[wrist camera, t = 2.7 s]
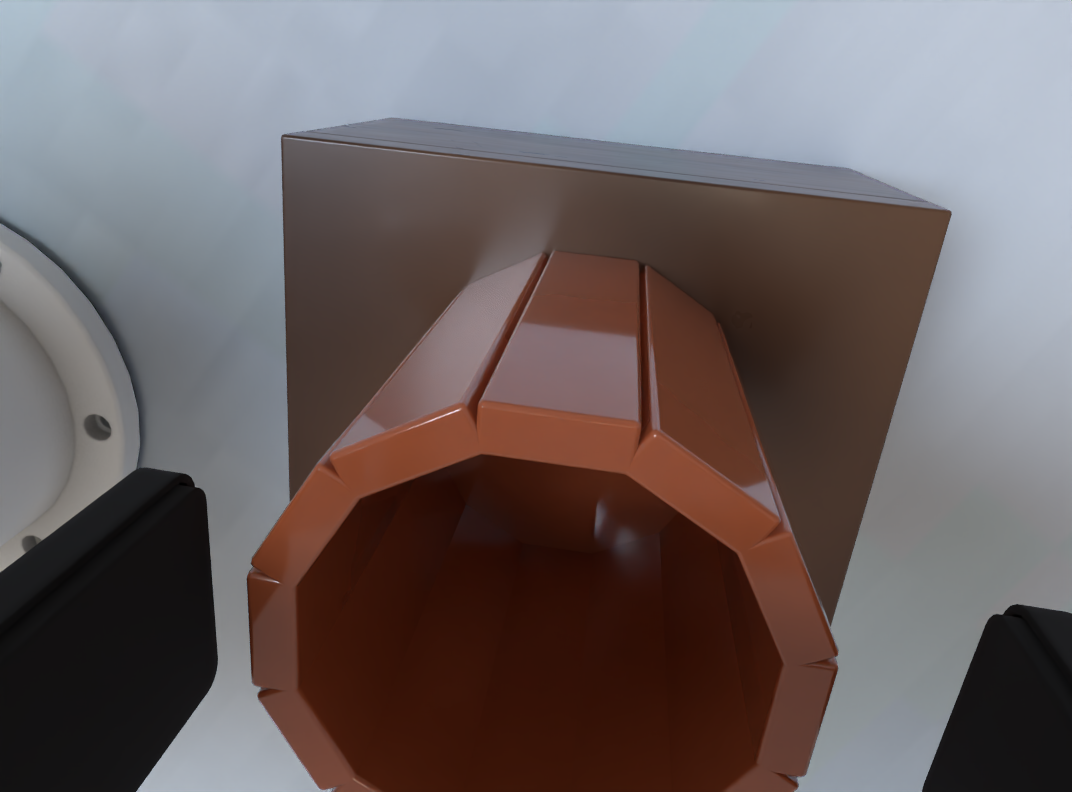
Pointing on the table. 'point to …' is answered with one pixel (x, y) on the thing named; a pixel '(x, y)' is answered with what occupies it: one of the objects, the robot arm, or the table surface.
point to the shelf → (625, 233)
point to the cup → (547, 560)
